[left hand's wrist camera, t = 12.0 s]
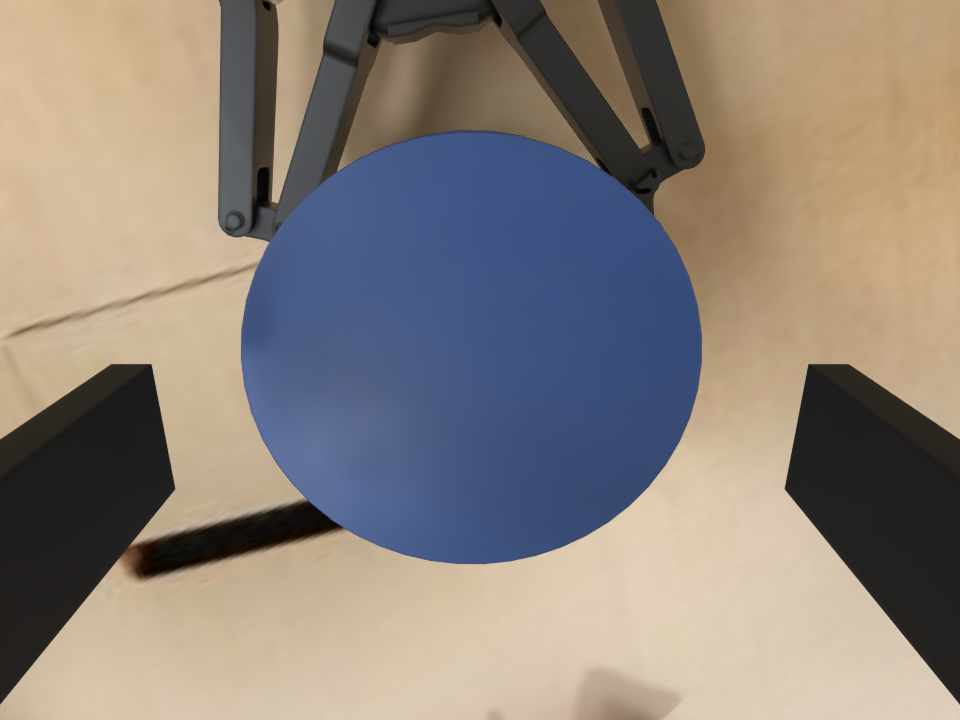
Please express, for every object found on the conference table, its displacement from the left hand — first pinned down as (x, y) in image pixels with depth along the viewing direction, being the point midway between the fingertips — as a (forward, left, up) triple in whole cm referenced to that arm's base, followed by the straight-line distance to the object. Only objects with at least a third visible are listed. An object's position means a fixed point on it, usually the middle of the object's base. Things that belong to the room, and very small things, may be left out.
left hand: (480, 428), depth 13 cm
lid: (0, 0, -4) cm, 4 cm away
